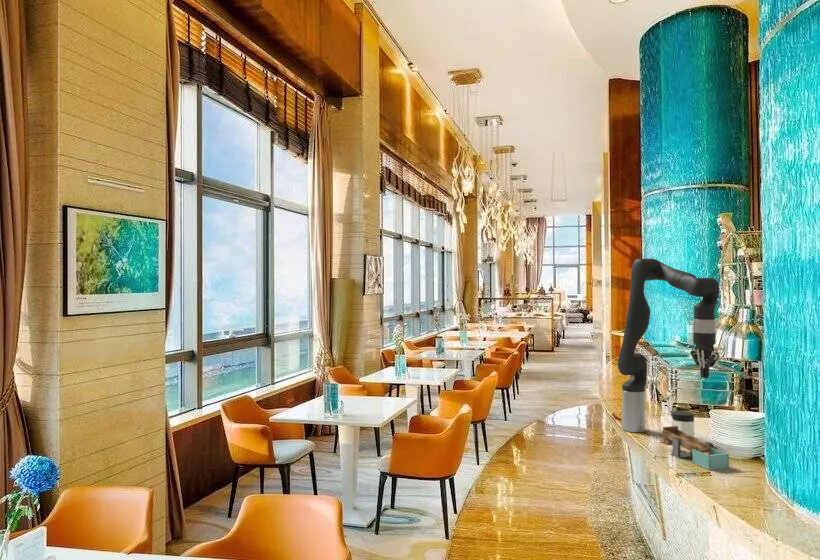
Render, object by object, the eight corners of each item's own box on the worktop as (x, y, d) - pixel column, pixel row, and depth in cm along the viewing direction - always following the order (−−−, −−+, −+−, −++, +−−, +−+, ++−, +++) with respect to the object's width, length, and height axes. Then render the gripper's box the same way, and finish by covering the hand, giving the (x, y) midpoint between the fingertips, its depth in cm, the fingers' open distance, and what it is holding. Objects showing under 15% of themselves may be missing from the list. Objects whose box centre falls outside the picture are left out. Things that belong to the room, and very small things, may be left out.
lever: (662, 443, 237) (663, 427, 236) (684, 441, 239) (685, 425, 238) (694, 461, 219) (696, 444, 219) (718, 459, 222) (719, 442, 221)
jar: (690, 440, 250) (689, 410, 250) (699, 445, 242) (698, 415, 241) (667, 440, 250) (667, 411, 250) (676, 446, 242) (676, 415, 242)
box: (692, 463, 219) (692, 449, 219) (710, 461, 221) (710, 447, 221) (709, 470, 211) (709, 455, 211) (728, 468, 213) (728, 453, 213)
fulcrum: (670, 455, 230) (670, 437, 230) (691, 452, 232) (691, 435, 232) (679, 458, 225) (679, 441, 225) (700, 456, 227) (700, 439, 227)
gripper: (683, 330, 235) (684, 375, 235) (708, 333, 222) (709, 381, 222) (700, 329, 236) (700, 374, 237) (726, 332, 224) (726, 380, 224)
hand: (704, 377), depth 229 cm, fingers closed
